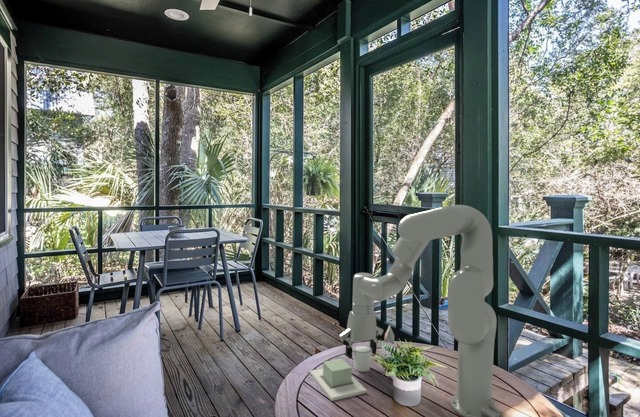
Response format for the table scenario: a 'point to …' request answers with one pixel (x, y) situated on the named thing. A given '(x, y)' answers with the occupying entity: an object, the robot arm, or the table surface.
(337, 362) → the sage block
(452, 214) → the robot arm
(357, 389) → the cream flat rectangular slab
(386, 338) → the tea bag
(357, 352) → the white cylinder
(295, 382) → the table surface
